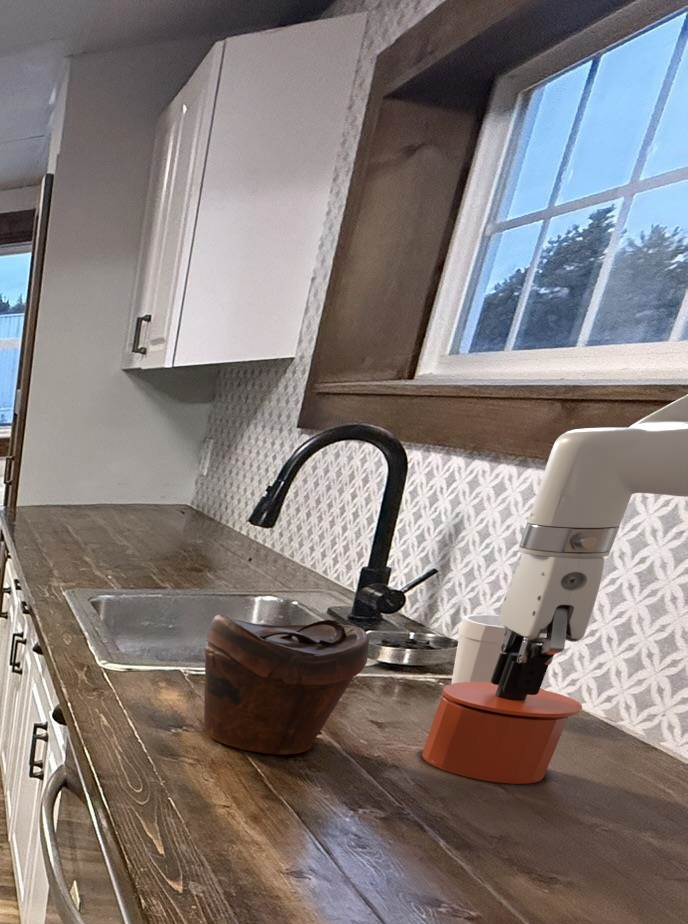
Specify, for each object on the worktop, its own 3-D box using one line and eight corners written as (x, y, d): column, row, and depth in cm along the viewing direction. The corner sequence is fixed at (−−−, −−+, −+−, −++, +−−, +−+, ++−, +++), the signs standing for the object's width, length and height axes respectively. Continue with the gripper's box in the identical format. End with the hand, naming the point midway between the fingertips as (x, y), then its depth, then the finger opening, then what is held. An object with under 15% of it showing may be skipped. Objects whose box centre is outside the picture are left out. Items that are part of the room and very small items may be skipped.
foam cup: (525, 704, 127) (557, 621, 122) (507, 717, 122) (540, 632, 117) (446, 689, 134) (473, 611, 129) (426, 701, 130) (453, 620, 125)
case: (370, 745, 115) (410, 619, 108) (285, 775, 107) (322, 642, 100) (239, 709, 130) (267, 596, 123) (156, 733, 122) (181, 614, 115)
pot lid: (551, 694, 107) (570, 645, 104) (600, 727, 96) (622, 673, 94) (426, 686, 112) (441, 639, 110) (460, 716, 102) (478, 664, 99)
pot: (520, 755, 110) (544, 695, 107) (561, 789, 100) (588, 724, 97) (410, 744, 115) (429, 686, 112) (439, 775, 105) (461, 713, 102)
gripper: (649, 552, 88) (585, 713, 95) (576, 531, 102) (524, 673, 109) (555, 550, 91) (500, 706, 98) (496, 530, 105) (451, 668, 112)
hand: (513, 687), depth 103 cm, fingers closed on pot lid, 2 cm apart
